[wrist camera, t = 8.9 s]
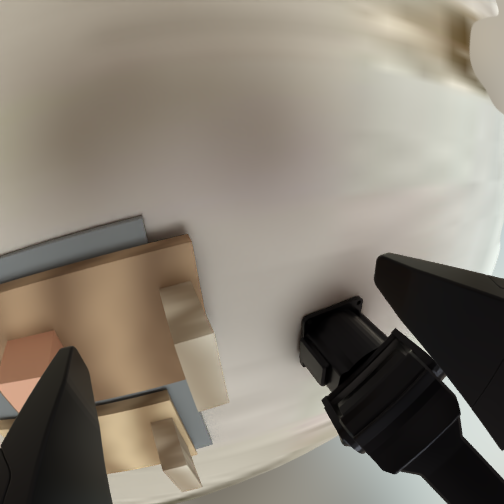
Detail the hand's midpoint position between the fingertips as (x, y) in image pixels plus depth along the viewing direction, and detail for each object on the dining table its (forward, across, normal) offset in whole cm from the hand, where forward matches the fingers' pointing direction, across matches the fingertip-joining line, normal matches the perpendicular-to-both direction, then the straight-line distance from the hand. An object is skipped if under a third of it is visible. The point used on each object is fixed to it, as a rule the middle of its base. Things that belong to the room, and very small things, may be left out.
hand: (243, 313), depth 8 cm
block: (+10, +12, +8) cm, 17 cm away
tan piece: (+12, +13, +21) cm, 27 cm away
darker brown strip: (+12, +8, +8) cm, 17 cm away
